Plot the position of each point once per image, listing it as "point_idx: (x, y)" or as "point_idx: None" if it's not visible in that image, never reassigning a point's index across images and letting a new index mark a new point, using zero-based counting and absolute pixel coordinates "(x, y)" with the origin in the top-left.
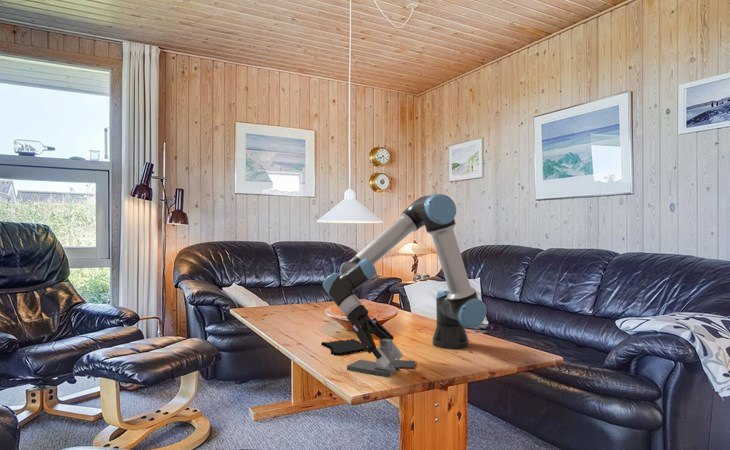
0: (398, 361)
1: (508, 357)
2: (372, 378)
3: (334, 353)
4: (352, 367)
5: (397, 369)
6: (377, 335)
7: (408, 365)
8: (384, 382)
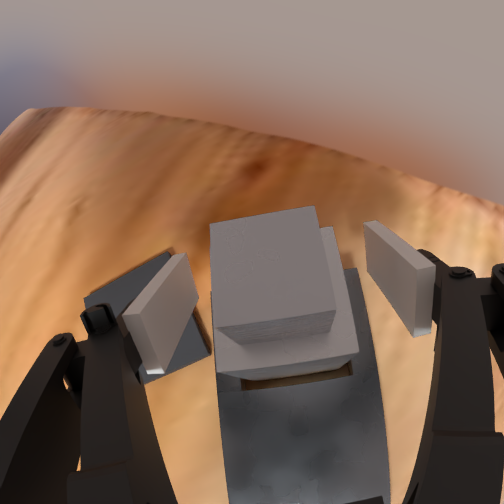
0: None
1: (17, 149)
2: None
3: None
4: (388, 491)
5: None
6: (157, 458)
7: None
8: (417, 245)
